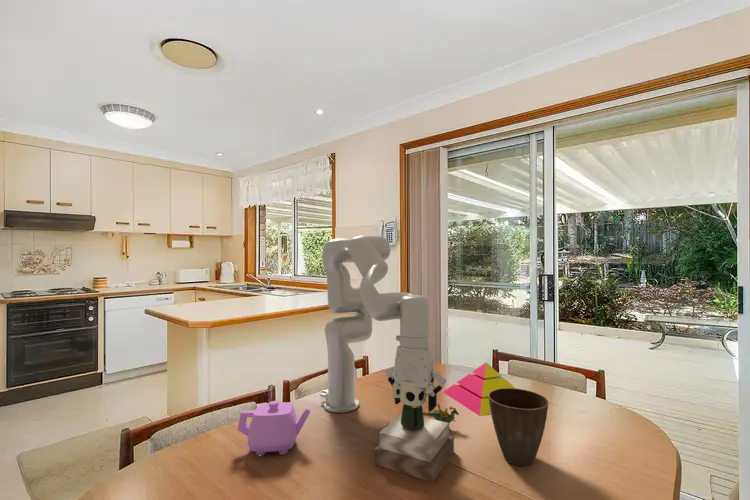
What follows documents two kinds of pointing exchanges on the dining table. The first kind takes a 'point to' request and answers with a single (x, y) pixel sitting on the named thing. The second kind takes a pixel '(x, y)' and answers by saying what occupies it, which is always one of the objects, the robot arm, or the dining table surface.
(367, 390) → the dining table surface
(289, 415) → the teapot
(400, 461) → the grey stacked block
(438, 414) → the figurine
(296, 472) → the dining table surface
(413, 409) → the character mug
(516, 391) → the plant pot
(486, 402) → the pyramid toy
